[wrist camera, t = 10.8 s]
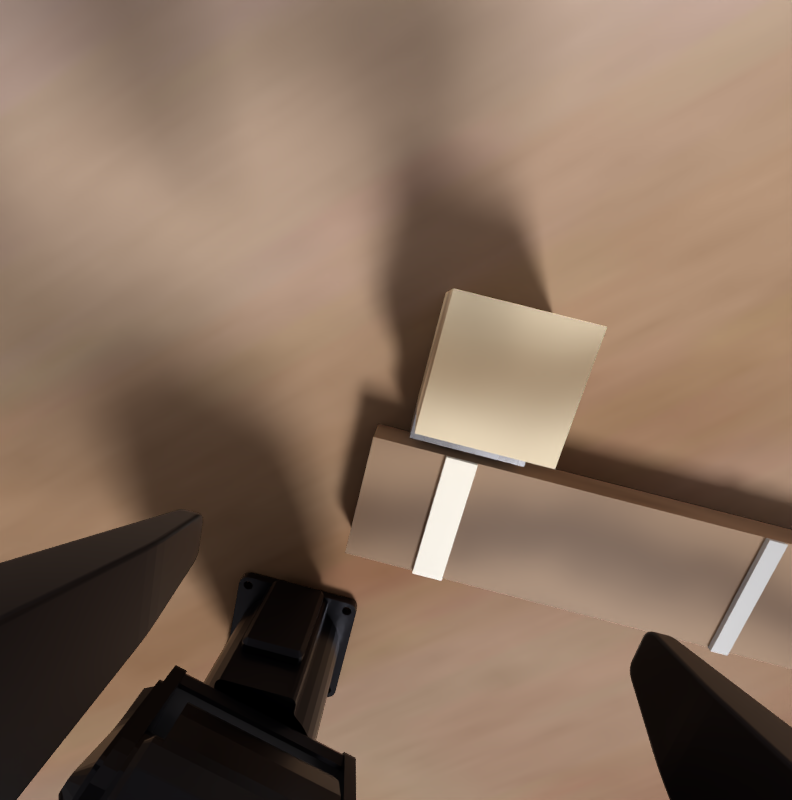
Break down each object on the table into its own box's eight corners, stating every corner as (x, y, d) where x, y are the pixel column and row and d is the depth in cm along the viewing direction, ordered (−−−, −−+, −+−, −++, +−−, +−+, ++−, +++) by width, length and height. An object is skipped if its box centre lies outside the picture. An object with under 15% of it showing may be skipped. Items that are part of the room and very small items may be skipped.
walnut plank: (879, 667, 21) (931, 708, 19) (352, 530, 21) (344, 555, 19) (945, 569, 20) (1009, 601, 17) (378, 423, 20) (372, 438, 18)
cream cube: (511, 446, 20) (543, 500, 14) (411, 421, 20) (406, 464, 14) (554, 319, 18) (607, 326, 13) (445, 292, 18) (453, 288, 13)
